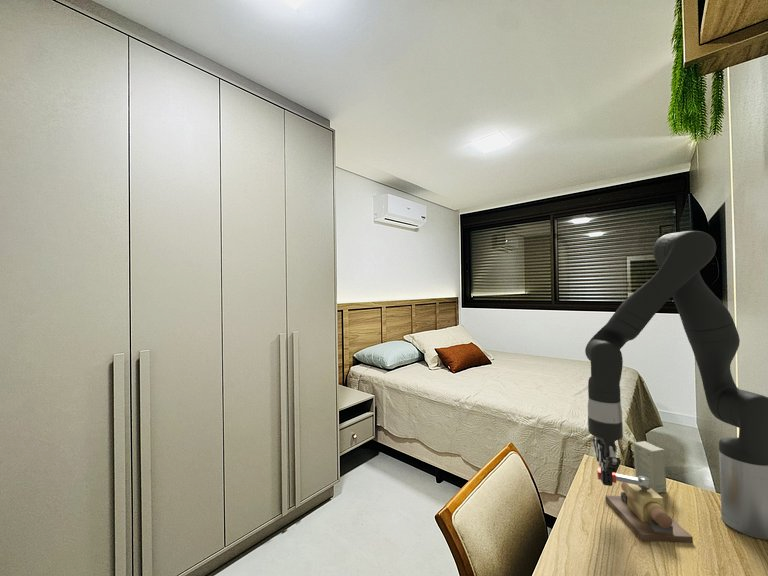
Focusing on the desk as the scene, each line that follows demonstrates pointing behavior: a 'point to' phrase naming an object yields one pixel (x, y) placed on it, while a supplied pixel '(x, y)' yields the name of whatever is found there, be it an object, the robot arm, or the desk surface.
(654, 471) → the skincare box
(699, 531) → the desk surface
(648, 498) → the valve rig
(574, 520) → the desk surface
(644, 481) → the valve lever
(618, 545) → the desk surface
